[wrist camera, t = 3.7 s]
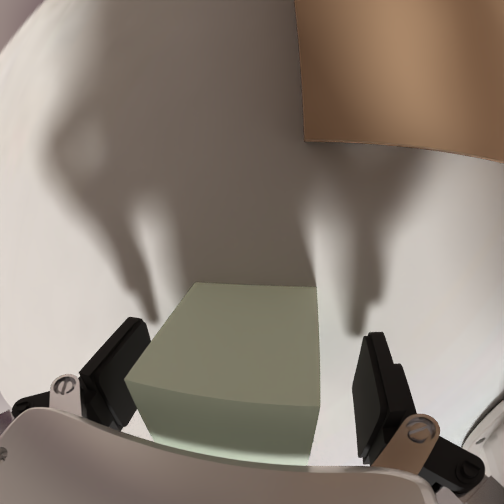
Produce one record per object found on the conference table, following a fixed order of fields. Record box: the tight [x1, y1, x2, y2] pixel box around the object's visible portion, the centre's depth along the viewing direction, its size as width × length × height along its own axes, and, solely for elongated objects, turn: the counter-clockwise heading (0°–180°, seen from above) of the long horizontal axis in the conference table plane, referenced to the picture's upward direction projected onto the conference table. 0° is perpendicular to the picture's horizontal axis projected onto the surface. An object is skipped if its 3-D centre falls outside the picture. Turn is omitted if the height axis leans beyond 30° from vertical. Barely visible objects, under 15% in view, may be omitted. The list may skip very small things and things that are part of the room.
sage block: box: [124, 282, 320, 466], centre depth 10 cm, size 5×5×6 cm
